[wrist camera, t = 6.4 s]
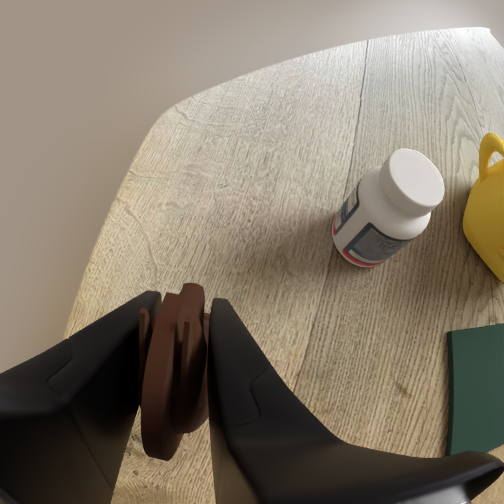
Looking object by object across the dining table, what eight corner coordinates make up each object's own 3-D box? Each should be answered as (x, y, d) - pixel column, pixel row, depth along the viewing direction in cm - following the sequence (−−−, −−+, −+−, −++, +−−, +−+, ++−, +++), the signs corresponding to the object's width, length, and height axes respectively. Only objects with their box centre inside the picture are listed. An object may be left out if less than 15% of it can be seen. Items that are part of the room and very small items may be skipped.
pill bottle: (400, 255, 24) (467, 205, 16) (349, 278, 23) (411, 230, 15) (370, 199, 26) (422, 134, 17) (318, 217, 25) (362, 147, 16)
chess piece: (254, 322, 16) (294, 262, 6) (240, 421, 14) (258, 509, 5) (164, 307, 16) (81, 228, 6) (148, 404, 14) (41, 452, 5)
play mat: (528, 427, 19) (532, 427, 19) (444, 467, 18) (448, 468, 18) (528, 319, 23) (531, 318, 23) (446, 332, 22) (451, 331, 22)
